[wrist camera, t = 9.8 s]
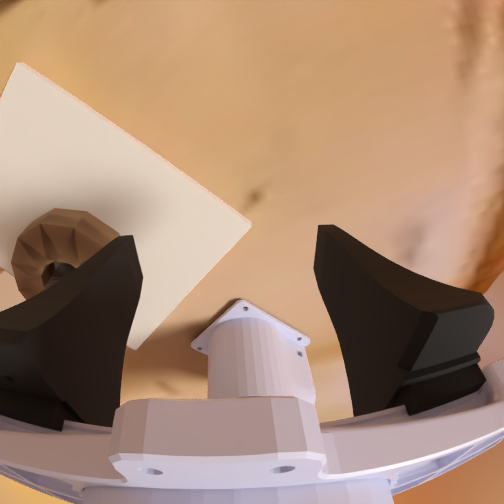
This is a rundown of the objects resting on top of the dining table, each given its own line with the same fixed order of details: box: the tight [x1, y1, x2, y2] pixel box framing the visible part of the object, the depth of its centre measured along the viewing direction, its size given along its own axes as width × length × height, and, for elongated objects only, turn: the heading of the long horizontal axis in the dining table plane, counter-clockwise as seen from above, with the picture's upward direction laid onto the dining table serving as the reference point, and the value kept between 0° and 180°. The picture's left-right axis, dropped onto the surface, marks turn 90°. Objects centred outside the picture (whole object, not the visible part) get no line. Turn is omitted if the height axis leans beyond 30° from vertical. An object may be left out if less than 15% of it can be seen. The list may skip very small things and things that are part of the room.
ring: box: [11, 208, 120, 300], centre depth 22 cm, size 11×11×2 cm
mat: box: [0, 62, 252, 350], centre depth 21 cm, size 22×18×1 cm
